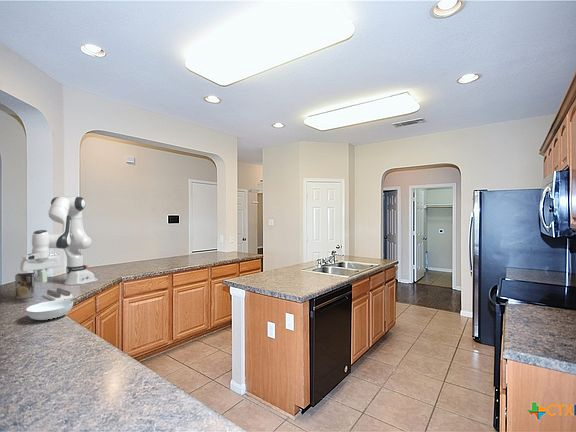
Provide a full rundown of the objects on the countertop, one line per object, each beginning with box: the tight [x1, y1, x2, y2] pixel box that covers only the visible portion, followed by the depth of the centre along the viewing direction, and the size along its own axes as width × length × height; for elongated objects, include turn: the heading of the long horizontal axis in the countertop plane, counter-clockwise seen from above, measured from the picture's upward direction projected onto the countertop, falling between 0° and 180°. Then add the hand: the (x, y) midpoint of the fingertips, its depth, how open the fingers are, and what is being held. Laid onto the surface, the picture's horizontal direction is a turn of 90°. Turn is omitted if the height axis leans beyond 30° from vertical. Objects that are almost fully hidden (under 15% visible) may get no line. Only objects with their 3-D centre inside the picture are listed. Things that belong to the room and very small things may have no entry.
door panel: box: [34, 269, 48, 283], centre depth 193 cm, size 2×12×7 cm, turn 58°
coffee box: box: [14, 272, 36, 300], centre depth 202 cm, size 9×6×16 cm
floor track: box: [44, 287, 73, 301], centre depth 202 cm, size 10×17×4 cm, turn 58°
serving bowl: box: [25, 299, 74, 321], centre depth 167 cm, size 21×21×7 cm
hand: (41, 276), depth 193 cm, fingers closed on door panel, 2 cm apart
